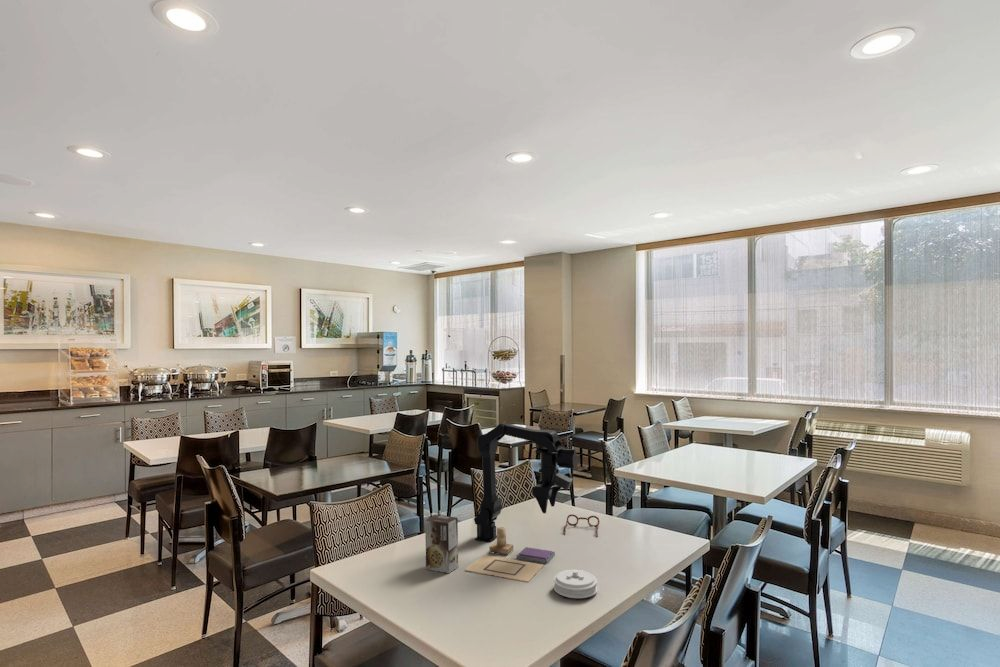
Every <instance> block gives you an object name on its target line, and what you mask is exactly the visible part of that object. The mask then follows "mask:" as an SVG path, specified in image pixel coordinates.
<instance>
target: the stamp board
mask: <svg viewBox="0 0 1000 667" xmlns="http://www.w3.org/2000/svg"><path fill="white" fill-rule="evenodd" d="M544 566H545V565H544V564H542V563H537V562H536V563H535V562H531V561H525V560H519V559H510V558H505V557H500V556H492V555H488V554H483V555H482V556H481V557H480V558H478V559H476V561H474V562H473V563H472V564H471V565H469V566H468V567H467V568H466V569H464V572H469V571H470V572H469V573H474V572H475V573H476V574H480V573H481V574H482V575H485V574H488V575H487V576H491V575H494V576H493V577H496V576H499V577H498V578H502V577H504V578H503V579H507V578H508V580H513V579H514V581H518V580H519V582H524V581H525V583H529V582H530V581H532V578H534V577H535V576H536V575H537V573H538V572H539V571H540V570H541V569H542V568H543V567H544ZM535 574H536V575H535ZM534 575H535V576H534Z"/></svg>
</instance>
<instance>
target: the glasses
mask: <svg viewBox="0 0 1000 667" xmlns="http://www.w3.org/2000/svg"><path fill="white" fill-rule="evenodd" d="M571 517H574V518H575V519H576V523H570V522H569V521H570V520H569V518H571ZM591 518H594V519H596V520H597V523H596V524H591V523H590V519H591ZM579 520H586V521H587V524H588V526H589V527H591V526H595V527H594V528H596V530H595V532H596V538H597V537H598V538H599V534H598V533H599V532H598V530H599V526H600V519H599V517H598V516H596V515H590V516H589V517H588V516H587V517H579V516H578V515H576V514H569V515H568V516H567V518H566V521H565V522H566V523H565V525H564V527H563V528H564V529H563V533H564V534H566V533H567V532H566V531H567V530H566V528H567V527H568V525H570V526H577V525H578V523H579Z"/></svg>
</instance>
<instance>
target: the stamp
mask: <svg viewBox="0 0 1000 667" xmlns="http://www.w3.org/2000/svg"><path fill="white" fill-rule="evenodd" d="M496 535H497V537H496V541H494V542H493V543H492V544H491V545H489V552H494V553H493V554H496V553H499V554H498V555H502V554H505V555H504V556H508V554H509V553H510V552H511V551H512V552H513V551H514V544H513V543H512V544H511V543H507V528H506V527H505V526H504V527H503V526H499V527H496ZM512 552H511V553H512ZM511 553H510V554H511ZM510 554H509V555H510Z"/></svg>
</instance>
